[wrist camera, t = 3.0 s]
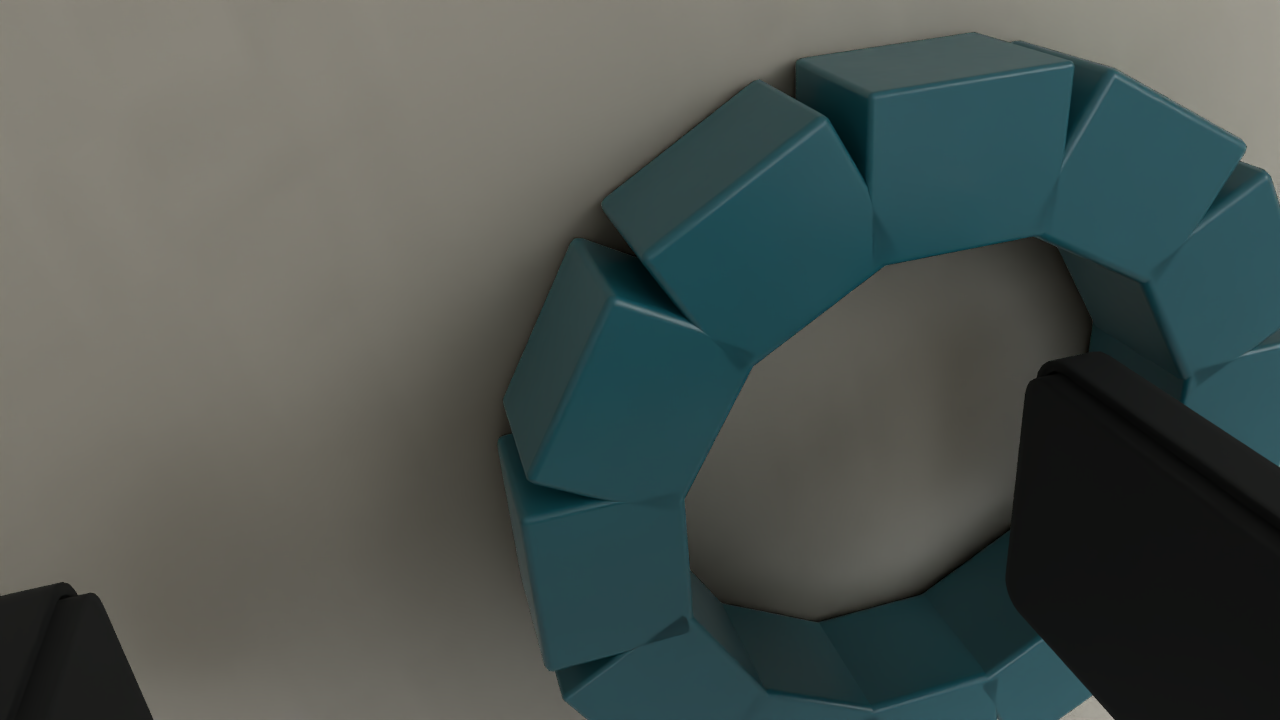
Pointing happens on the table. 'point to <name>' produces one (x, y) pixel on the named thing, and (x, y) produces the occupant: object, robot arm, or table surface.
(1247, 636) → the robot arm
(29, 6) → the table surface
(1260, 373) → the ring
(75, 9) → the table surface
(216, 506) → the table surface
